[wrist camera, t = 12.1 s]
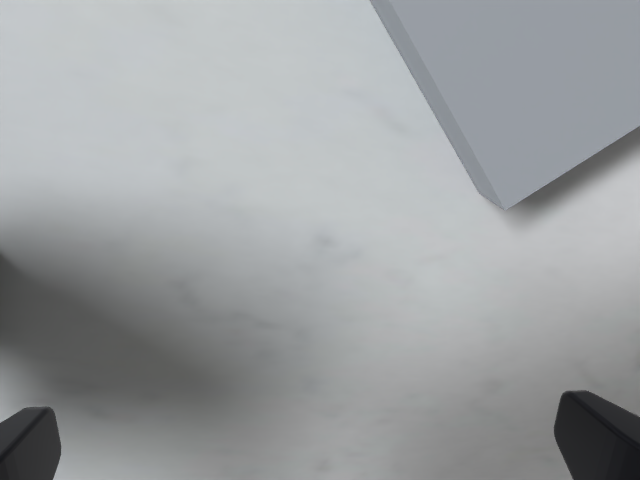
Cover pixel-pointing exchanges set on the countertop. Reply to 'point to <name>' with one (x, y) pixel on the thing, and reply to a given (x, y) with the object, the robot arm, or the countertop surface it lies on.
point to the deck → (522, 82)
